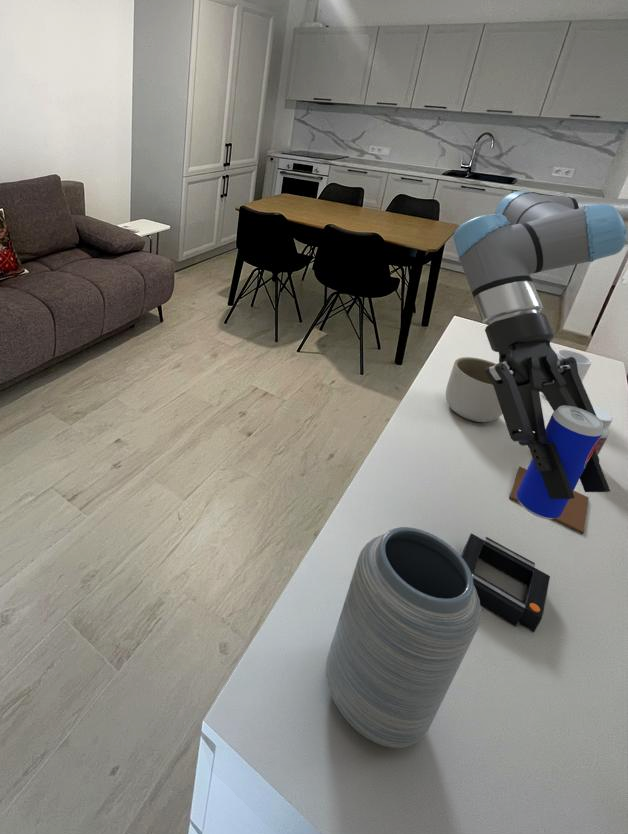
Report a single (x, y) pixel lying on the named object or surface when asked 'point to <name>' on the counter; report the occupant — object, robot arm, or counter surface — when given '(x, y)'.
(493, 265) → the robot arm
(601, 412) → the pill bottle
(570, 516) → the cork mat
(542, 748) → the counter surface
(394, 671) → the vase
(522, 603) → the frame
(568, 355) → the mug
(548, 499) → the beverage can
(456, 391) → the planter
